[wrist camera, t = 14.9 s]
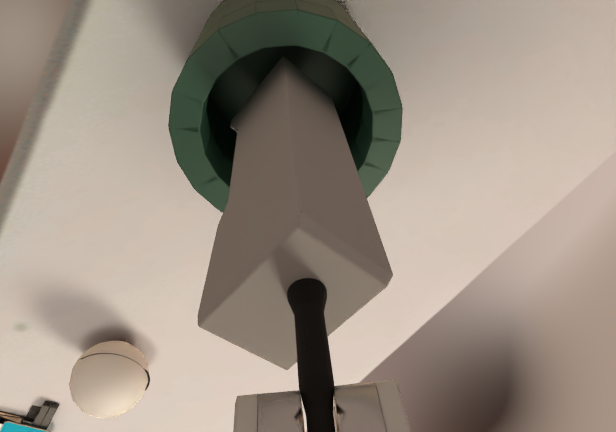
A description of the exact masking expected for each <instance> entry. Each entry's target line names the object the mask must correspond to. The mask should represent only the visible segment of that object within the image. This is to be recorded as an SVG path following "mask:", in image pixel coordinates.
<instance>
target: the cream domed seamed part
mask: <svg viewBox="0 0 616 432" xmlns="http://www.w3.org/2000/svg"><path fill="white" fill-rule="evenodd" d="M149 382H150V377H149V370H148V364H147V362H146V359H145V357H144V356H143V354H142V353H141V352H140V351H139V350H138V349H137V348H135V347H134V346H133V345H131V344H129V343H127V342H123V341H107V342H102V343H98V344H96V345H94V346H93V347H91V348H90V349H88V350H87V351H85V352H84V353H83V354H82V355H81V356H80V358H79V359H78V360H77V362H76V363H75V365H74V367H73V369H72V373H71V378H70V383H69V386H70V391H71V395H72V399H73V401H74V402H75V403H76V404H77V406H78V407H79V408H80V409H81V410H82V411H83V412H84V413H86V414H88V415H90V416H93V417H98V418H111V417H115V416H118V415H120V414H122V413H124V412H126V411H128V410H130V409H131V408H132V407H133V406H134V405H135V404H136V403H137V402H138V401H139V400H140V399H141V398H142V396H143V393H144V391H145V390H146V389H147V387H148V386H149Z"/></svg>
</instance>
